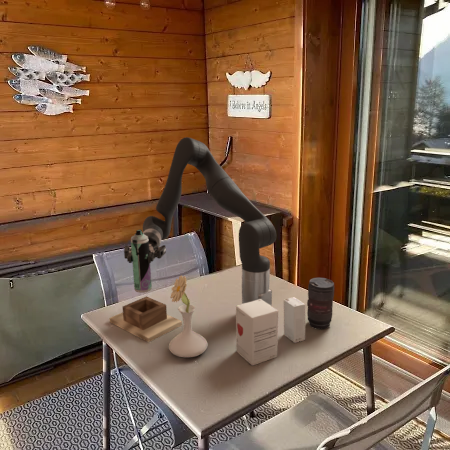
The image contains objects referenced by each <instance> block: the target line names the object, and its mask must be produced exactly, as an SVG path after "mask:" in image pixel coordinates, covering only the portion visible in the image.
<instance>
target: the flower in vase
mask: <svg viewBox="0 0 450 450" xmlns="http://www.w3.org/2000/svg"><path fill="white" fill-rule="evenodd" d="M187 283H188V281H187V277H186V276H185V275H184V276H183V275H179V277H178V278H176V279H175V282H174V286H172V287H171V291H172V292H171V293H170V299H171V302H173V303H177V302H179V301H181V302H182V303H183V304H182V305H180V306H178V308H177V310H178V312H179V313H180V314H181V317H182V324H183V328H182V331H181V332H180V333H178V334H177V335H175V336H174V337H173V338H172V339H171V340H170V341H169V344H168V350H169V351H170V352H171V353H172V355H174V356H176V357H180V358H193V357H194V358H195V357H197V356H199V355H201V354H203V353H205V351H206V350H207V348H208V342H207V339H206V338H205V337H203V336H202V335H201V334H200V333H198V332H195V331H194V330H193V328H192V318H193V313H194V312H195V310H196V306H195V305H193V304H191V300H190V298H188V295H187V294H186V292H185V291H186V289H187V286H188V284H187Z"/></svg>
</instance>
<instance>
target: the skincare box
mask: <svg viewBox="0 0 450 450" xmlns="http://www.w3.org/2000/svg"><path fill="white" fill-rule="evenodd" d="M283 335H284V336H285V337H287V338H288V339H289V340H290V341H292V343H294V344H295V343H299V341H300V342H302V341H305V340H306V304H305V303H304V302H303V301H301V300H300V299H298V298H296V297H295V296H293V297H288V298H286V299H285V298H284V299H283Z"/></svg>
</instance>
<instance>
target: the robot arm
mask: <svg viewBox="0 0 450 450" xmlns="http://www.w3.org/2000/svg"><path fill="white" fill-rule="evenodd" d="M172 157H173V158H172V160H171V163H170V164H171V165H170V167H169V171H168V175H167V179H166V182H165V185H164V187H163V190H162V193H161V195H160V196H159V199H158V201H157V204H156V206H155V209H156V210H155V211H157V212H158V213H159V214H160V215H162V216H163V218H164V220H163V219H161V218H158V217H157V216H154V215H149V216H147V217H145V219H144V220H143V225H142V232H143V233H144V235H147V236H148V239H149V255H148V263H150V264H151V263H152V262H153V261H154V260H155V259H156V258H157V259H158V260H160V259H161V258H162V257H164V255H166V254H167V251H166V250H167V248H166V247H167V246H166V245H164V244H162V245H161V243H162V241H163V240H167V239H168V237H169V236H170V234H171V229H172V222H173V217H174V215H175V211H176V210H177V207H178V205H179V203H180V201H181V197H182V193H183V191H182V189H183V188H182V184H183V183H182V181H183V180H182V179H183V174H184V171H185V169H186V167H187V165H191V166H193V167H194V168H196V169H197V171H199V173H200V174H201V175H202V176H203V177H204V179H205V185H206V190H207V192H208V194H209V195H210V196H211V197H212V199H213V201H215V203H216V204H217V205H218V206H219V207H221V208H222V209H223V210H225V211H227V212H229V213H231V214H232V215H235V216H237V217H238V218H239V219H242V220H243V222H244V223H242V224H241V225H240V227H239V230H238V249H239V259H240V262H241V304H244V303H248V302H252V301H255V300H259V299H262V300H263V301H265V302H266V303H268V304H270V305H271V306H272V307H273V290H272V289H270V287H271V285H270V284H271V283H270V282H271V280H270V276H271V275H270V274H271V261H270V259H269V258H268V257H267V256H265V255H261V254H260V249H262V248H266V247H268V246H271V245H273V244H274V243H275V242H276V240H277V230H276V229H275V228H276V227H275V226H274V225H273V223H272V221H271V220H270V219H269V218H268V217H267V216H266V215H265V214H264V213H262V211H261V210H259V209H258V208H257V207H256V206H255V205H254V204H253V203H252V202H251V201H250V199H249V198H248V197H247V196H246V195H245V194H244V193H243V192H242V189H240V187H239V186H238V184H236V182H235V181H234V180H233V179H232V178H231V177H230V175H228V173H227V172H226V170H224V168H223V167H222V166H221V165H220V164H219V163H218V162H217V160H216V159H215V157H214V156H213V154H212V152H211V151H210V149H209V148H208V146H207V145H206V144H205V143H204V142H202V141H200V140H197V139H194V138H192V137H189V136H188V137H187V136H186V137H183V138H182V139H180V140H179V141H178V142H177V145H176V147H175V149H174V152H173V156H172ZM123 248H124V249H123V255H124V259H126V261H127V262H128V263H129V264H133V263H132V250H131V246H129V245H128V244H125V245H124V246H123Z"/></svg>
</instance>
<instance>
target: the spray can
mask: <svg viewBox="0 0 450 450" xmlns="http://www.w3.org/2000/svg"><path fill="white" fill-rule="evenodd" d="M130 247H131V250H132V263H131V264H132V273H133V286H134V287H133V288H134V291H135V292H136V293H148V292H150V291H152V289H153V288H152V287H153V286H152V272H151V271H152V270H151V263H148V255H149V239H148V236H147V235H144V233H143V229H137V230H135V233H134V235H132V236H131V237H130Z"/></svg>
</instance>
